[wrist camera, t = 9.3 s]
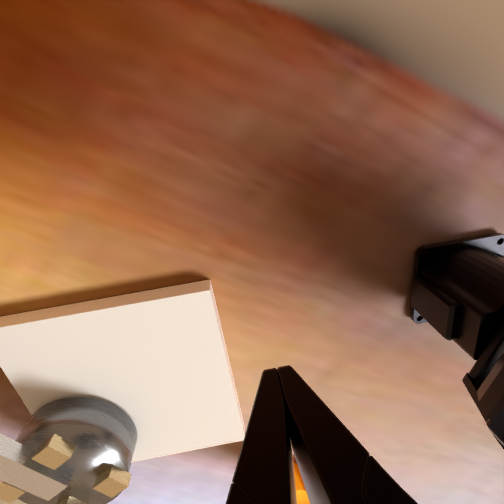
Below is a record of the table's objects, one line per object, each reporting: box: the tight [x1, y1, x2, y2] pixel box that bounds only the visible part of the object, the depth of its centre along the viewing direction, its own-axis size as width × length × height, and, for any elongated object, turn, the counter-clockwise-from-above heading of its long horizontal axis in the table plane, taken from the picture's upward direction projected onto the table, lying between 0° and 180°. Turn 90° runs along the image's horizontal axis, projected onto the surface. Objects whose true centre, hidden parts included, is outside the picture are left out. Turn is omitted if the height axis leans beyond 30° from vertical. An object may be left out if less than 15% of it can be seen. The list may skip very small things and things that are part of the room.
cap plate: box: [0, 280, 245, 462], centre depth 23 cm, size 15×15×2 cm
